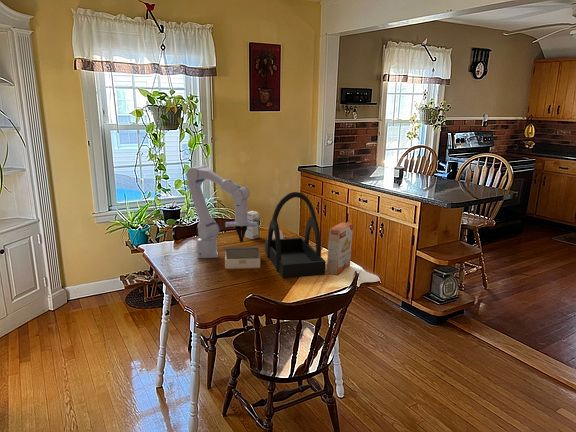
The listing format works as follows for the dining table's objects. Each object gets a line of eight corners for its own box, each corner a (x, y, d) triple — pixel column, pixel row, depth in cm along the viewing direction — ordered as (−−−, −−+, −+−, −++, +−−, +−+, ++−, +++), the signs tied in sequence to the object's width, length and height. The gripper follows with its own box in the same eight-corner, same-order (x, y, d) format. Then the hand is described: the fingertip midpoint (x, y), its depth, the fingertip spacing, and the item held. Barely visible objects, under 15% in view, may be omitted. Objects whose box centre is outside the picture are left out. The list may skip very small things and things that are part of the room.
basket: (263, 252, 220) (263, 185, 211) (303, 249, 226) (305, 184, 217) (281, 279, 188) (282, 201, 179) (326, 275, 193) (330, 199, 184)
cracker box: (338, 275, 192) (340, 230, 187) (326, 272, 195) (328, 228, 190) (351, 266, 204) (353, 223, 198) (339, 263, 207) (341, 221, 201)
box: (225, 269, 197) (224, 259, 196) (225, 257, 211) (225, 249, 209) (260, 268, 199) (260, 259, 197) (258, 257, 212) (258, 248, 211)
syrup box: (252, 239, 239) (252, 214, 235) (244, 237, 242) (244, 212, 239) (259, 237, 243) (259, 212, 240) (251, 235, 247) (251, 210, 243)
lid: (224, 248, 195) (224, 247, 195) (224, 249, 209) (224, 247, 209) (260, 248, 197) (260, 246, 197) (259, 248, 211) (259, 247, 211)
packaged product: (267, 228, 244) (285, 229, 245) (267, 237, 245) (284, 237, 246) (268, 238, 226) (287, 239, 227) (267, 247, 228) (286, 247, 228)
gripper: (257, 211, 203) (257, 238, 207) (226, 211, 202) (226, 238, 206) (256, 215, 196) (256, 243, 200) (224, 214, 196) (225, 243, 199)
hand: (241, 241), depth 202 cm, fingers closed
